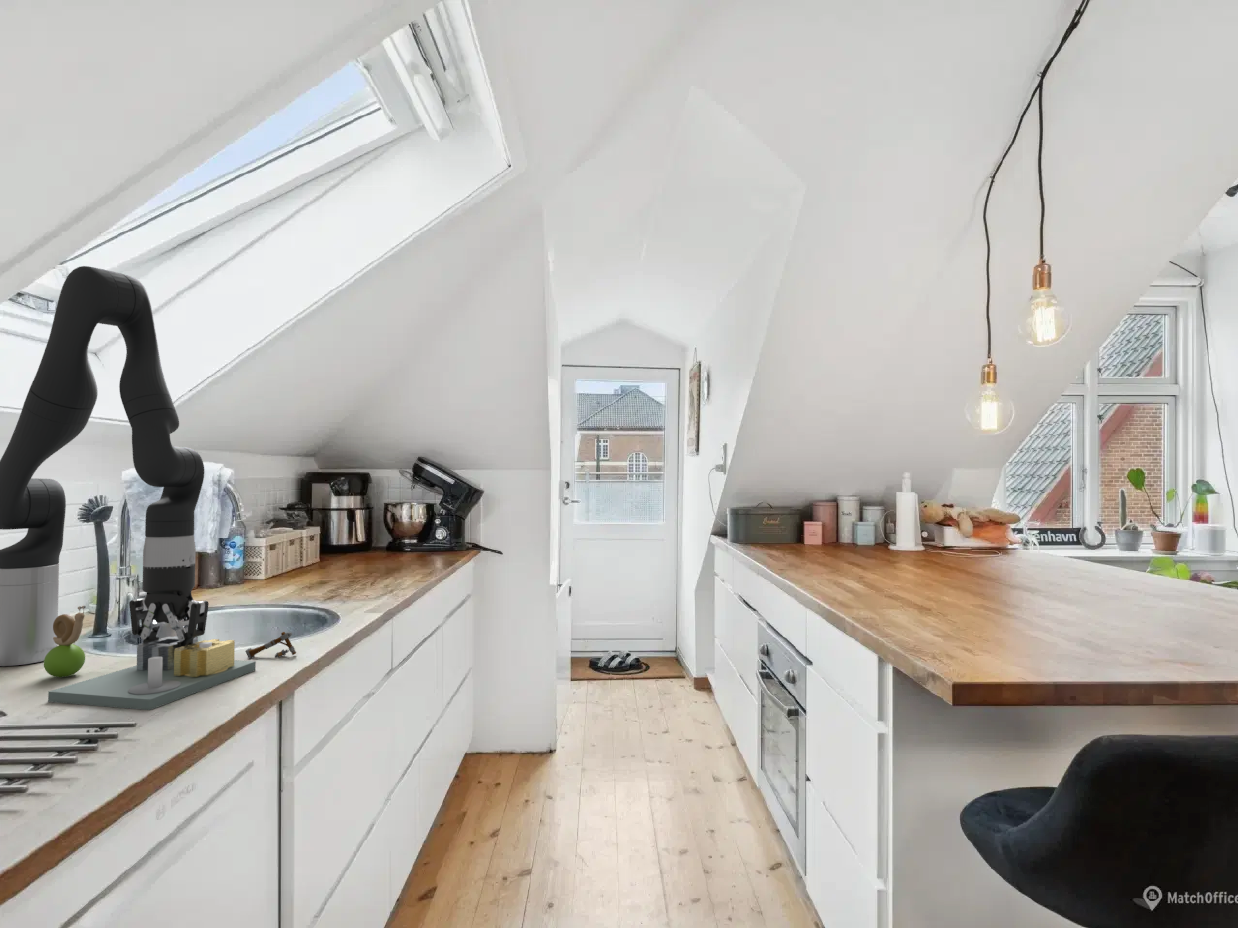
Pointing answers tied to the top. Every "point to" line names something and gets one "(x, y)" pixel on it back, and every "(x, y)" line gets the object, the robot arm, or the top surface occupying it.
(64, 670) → the snail figurine
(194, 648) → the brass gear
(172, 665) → the grey hollow block
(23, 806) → the top surface
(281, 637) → the brown grey angled piece
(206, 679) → the gear board
